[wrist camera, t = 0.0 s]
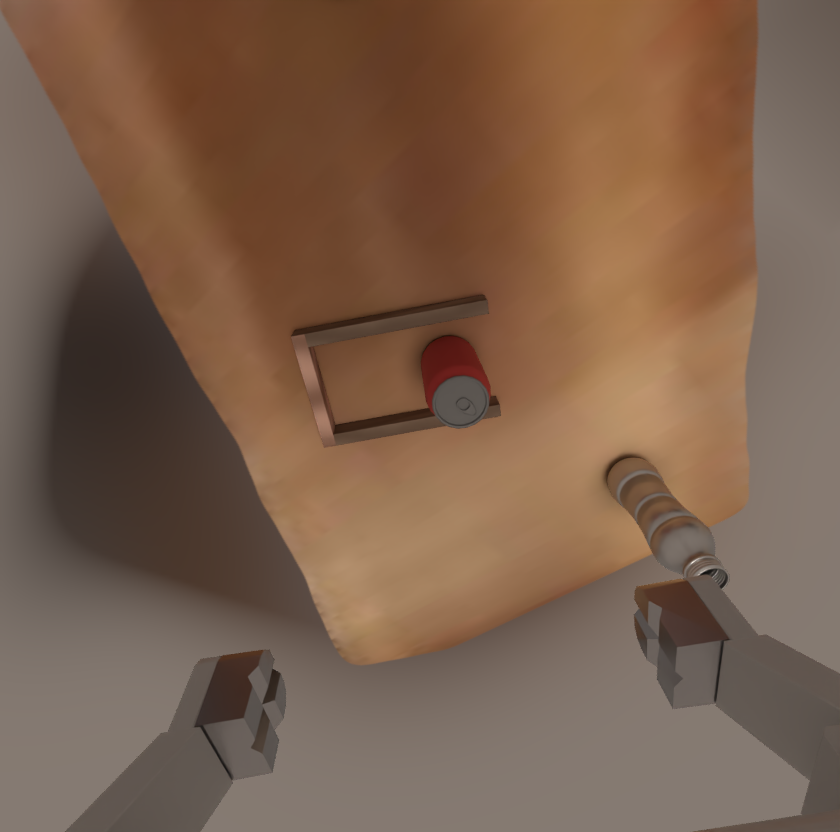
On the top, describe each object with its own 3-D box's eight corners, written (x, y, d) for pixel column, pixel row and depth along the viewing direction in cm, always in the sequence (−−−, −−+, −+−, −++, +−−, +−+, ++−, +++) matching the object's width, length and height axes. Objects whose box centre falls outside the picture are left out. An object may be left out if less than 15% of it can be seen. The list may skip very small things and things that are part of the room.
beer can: (450, 397, 61) (462, 445, 50) (409, 364, 59) (412, 407, 48) (487, 358, 59) (509, 399, 48) (446, 322, 57) (459, 357, 46)
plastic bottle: (618, 501, 69) (697, 616, 51) (592, 470, 67) (666, 579, 49) (659, 474, 68) (756, 583, 50) (634, 441, 65) (726, 543, 47)
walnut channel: (294, 330, 57) (290, 336, 54) (483, 294, 56) (487, 299, 54) (326, 437, 63) (324, 447, 60) (497, 407, 62) (501, 415, 60)
